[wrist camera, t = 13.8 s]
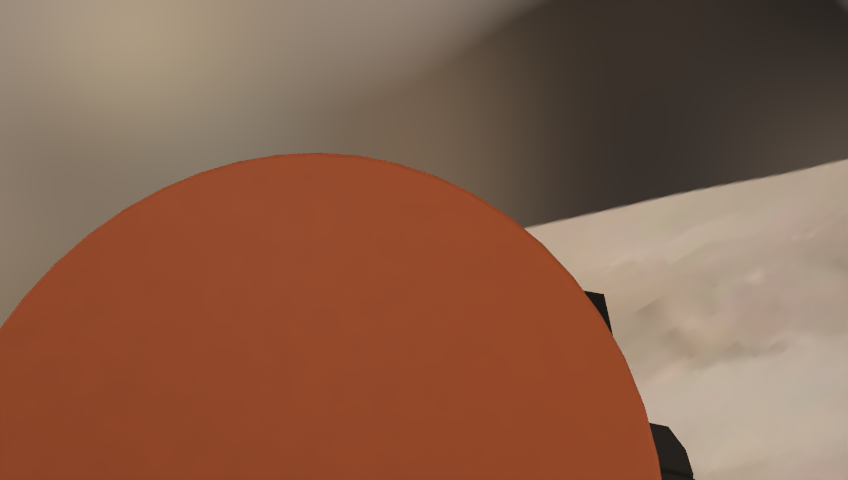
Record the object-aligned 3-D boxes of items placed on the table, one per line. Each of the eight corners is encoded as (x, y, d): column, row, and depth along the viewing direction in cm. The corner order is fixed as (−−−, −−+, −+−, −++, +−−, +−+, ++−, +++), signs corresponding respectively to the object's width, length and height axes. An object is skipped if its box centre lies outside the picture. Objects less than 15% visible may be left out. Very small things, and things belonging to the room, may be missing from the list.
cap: (558, 376, 17) (764, 304, 5) (464, 623, 15) (480, 1293, 4) (352, 283, 18) (172, 68, 7) (241, 499, 16) (-257, 698, 5)
